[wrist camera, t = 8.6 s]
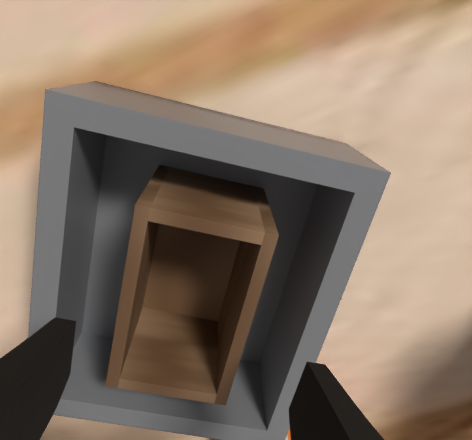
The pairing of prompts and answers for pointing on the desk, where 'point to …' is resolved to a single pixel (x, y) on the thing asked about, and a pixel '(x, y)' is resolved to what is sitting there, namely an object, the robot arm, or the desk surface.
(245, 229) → the small crate
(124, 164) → the big crate
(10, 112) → the desk surface
